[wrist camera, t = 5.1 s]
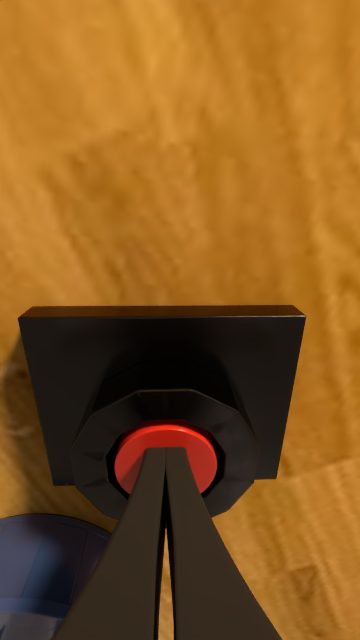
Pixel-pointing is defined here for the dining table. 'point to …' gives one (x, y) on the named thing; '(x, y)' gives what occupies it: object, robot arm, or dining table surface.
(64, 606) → the lid
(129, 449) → the button
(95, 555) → the pot
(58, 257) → the dining table surface
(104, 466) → the block
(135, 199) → the dining table surface
